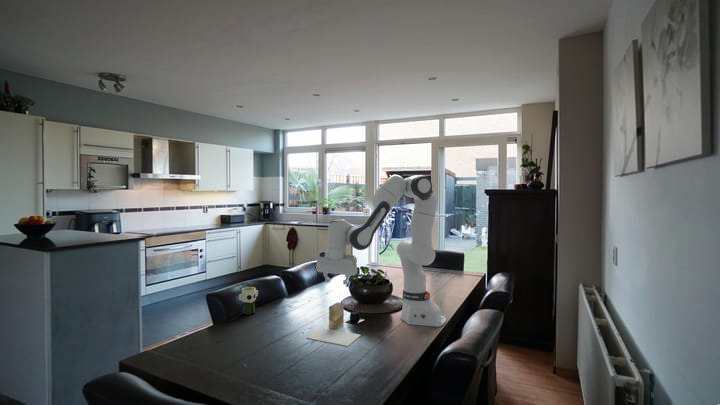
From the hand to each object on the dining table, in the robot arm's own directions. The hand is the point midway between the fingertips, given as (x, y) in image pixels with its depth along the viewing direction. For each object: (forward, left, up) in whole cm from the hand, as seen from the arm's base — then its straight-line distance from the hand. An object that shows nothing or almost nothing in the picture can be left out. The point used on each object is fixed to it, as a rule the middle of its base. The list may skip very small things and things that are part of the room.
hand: (336, 283), depth 175 cm
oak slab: (0, 0, -21) cm, 21 cm away
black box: (-5, -11, -22) cm, 24 cm away
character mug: (+50, +3, -21) cm, 54 cm away
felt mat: (-5, +11, -21) cm, 24 cm away
